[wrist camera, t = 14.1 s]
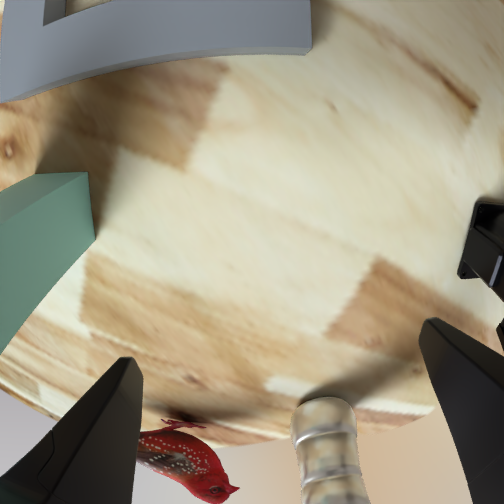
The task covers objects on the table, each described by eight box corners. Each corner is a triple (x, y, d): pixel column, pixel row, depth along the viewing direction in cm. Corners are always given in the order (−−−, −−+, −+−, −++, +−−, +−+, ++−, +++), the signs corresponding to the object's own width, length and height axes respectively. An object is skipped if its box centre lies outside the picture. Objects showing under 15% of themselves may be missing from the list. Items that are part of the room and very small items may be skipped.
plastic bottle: (280, 398, 28) (289, 593, 10) (348, 381, 27) (387, 578, 9) (295, 426, 30) (306, 588, 13) (354, 412, 29) (384, 574, 12)
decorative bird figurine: (241, 433, 31) (238, 509, 23) (98, 407, 31) (74, 474, 22) (243, 422, 30) (241, 503, 21) (92, 394, 29) (65, 464, 20)
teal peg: (87, 171, 18) (-78, 290, 5) (95, 240, 20) (-23, 389, 8) (34, 174, 18) (-114, 272, 5) (44, 236, 20) (-73, 357, 7)
